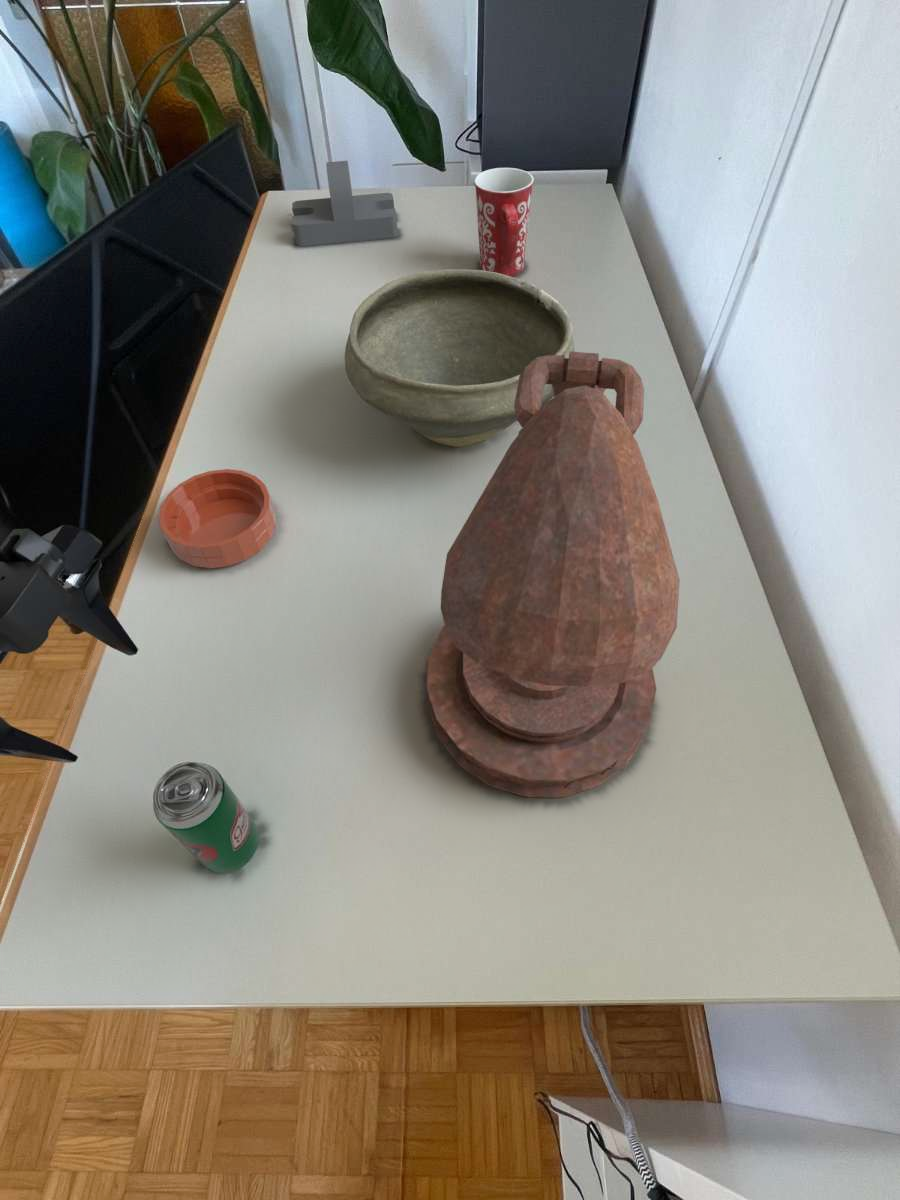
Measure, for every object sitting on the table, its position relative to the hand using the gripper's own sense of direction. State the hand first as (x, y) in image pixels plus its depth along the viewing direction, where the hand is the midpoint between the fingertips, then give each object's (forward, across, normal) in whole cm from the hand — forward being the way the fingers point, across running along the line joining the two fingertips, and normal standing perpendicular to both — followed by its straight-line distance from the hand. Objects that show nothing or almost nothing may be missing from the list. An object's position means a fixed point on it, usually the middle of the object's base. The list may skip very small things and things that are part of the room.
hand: (106, 703), depth 52 cm
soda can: (+16, -5, 0) cm, 16 cm away
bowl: (+20, +54, -6) cm, 58 cm away
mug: (+20, +92, -6) cm, 94 cm away
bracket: (+4, +103, +19) cm, 105 cm away
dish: (+8, +29, +13) cm, 33 cm away
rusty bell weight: (+28, +13, -19) cm, 37 cm away
